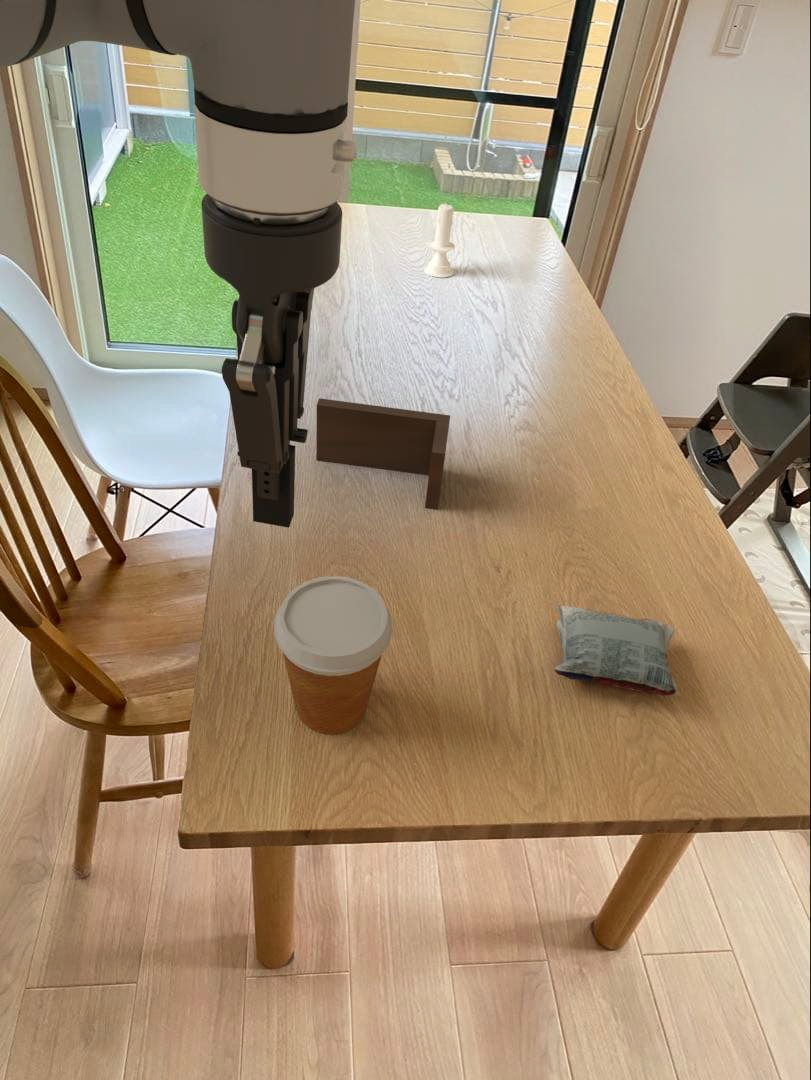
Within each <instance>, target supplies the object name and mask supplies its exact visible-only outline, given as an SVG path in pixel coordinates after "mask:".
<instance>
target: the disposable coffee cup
mask: <svg viewBox="0 0 811 1080" xmlns="http://www.w3.org/2000/svg"><path fill="white" fill-rule="evenodd" d="M393 626H394V625H393V619H392V615H391V612H390V611H389V609H388V607H387V606H386V603H385V601H384V599H383V598H382V596H381V595H380V594H379V593H378V592H377V591H376V590H375V589H374V588H372V587H371V586H370V585H368V584H366V583H364V582H362V581H360V580H357V579H356V578H351V577H347V576H340V575H326V576H319V577H315V578H312V579H309V580H307V581H304V582H302V583H300V584H299V585H298V586H296V587H294V588H293V589H292V590H291V591H290V592H289V593H288V594H287V595H286V596H285V598H283V601H282V604H281V605H280V607H279V608H278V609H277V611H276V614H275V616H274V621H273V635H274V639H275V642H276V643H277V645H278V647H279V649H280V651H281V652H282V655H283V660H284V664H285V668H286V671H287V676H288V681H289V685H290V689H291V693H292V697H293V701H294V705H295V710H296V713H297V716H298V718H299V719H300V720H301V722H302V723H303V724H304V725H305V726H306V727H307V728H309V729H311V730H313V731H315V732H317V733H320V734H325V735H326V734H327V735H337V734H342V733H345V732H348V731H349V730H351V729H353V728H355V727H356V726H357V725H359V724H360V723H361V721H362V720H363V719H364V716H365V715H366V712H367V708H368V704H369V701H370V698H371V693H372V691H373V688H374V684H375V680H376V676H377V673H378V670H379V666H380V662H381V659H382V656H383V654H384V653H385V651H386V650H387V648H388V647H389V646H390V642H391V640H392V636H393V631H394V627H393Z"/></svg>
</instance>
